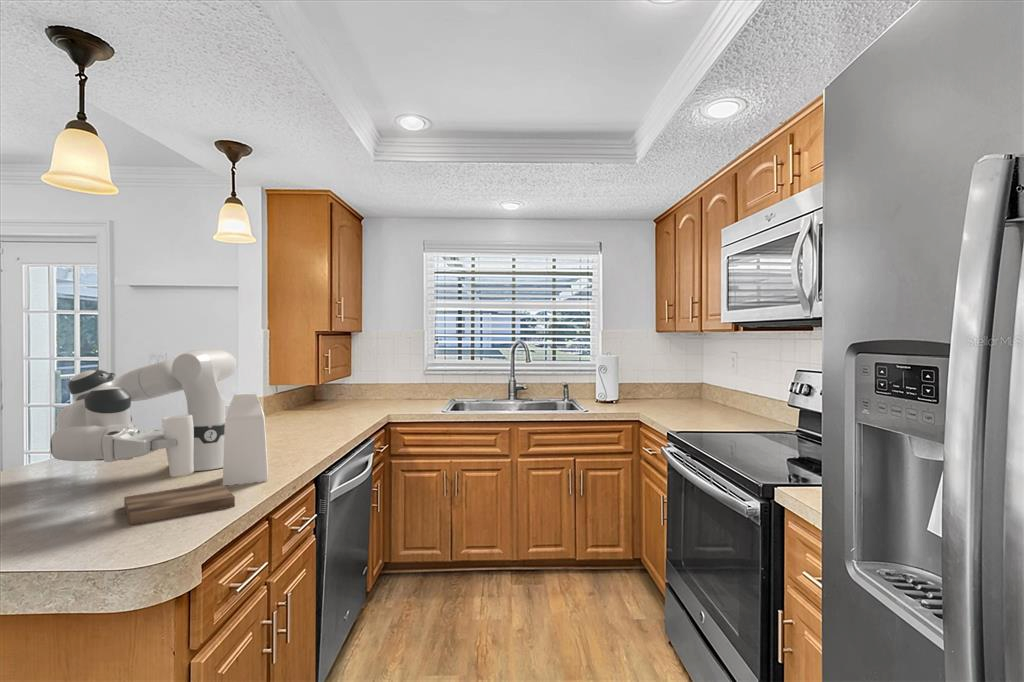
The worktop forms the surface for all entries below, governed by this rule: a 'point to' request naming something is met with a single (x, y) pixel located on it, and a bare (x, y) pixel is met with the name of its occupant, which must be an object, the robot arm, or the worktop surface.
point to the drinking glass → (179, 444)
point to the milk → (245, 441)
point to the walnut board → (177, 502)
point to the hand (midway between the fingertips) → (183, 440)
